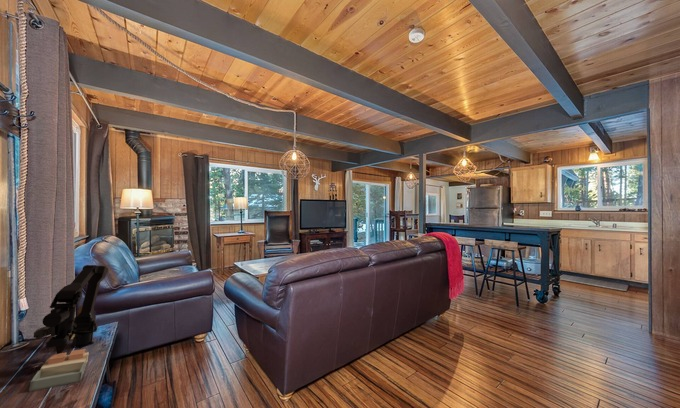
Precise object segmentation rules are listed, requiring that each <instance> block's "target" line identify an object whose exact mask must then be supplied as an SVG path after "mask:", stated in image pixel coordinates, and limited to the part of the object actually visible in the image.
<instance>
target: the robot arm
mask: <svg viewBox="0 0 680 408" xmlns="http://www.w3.org/2000/svg"><path fill="white" fill-rule="evenodd" d="M108 272H109V267H107V265H102V264H101V265H98V264H97V265H96V264H85V265H83V266H82V270H81V271H80V272H79V273H78V274H77V275H76V276H75V278H74V279H73V280H72V281H71V283H69V284H67V285H65V286H63V287H62V288H61V289H59V291H58V292H57V293H56V294H55V295H54V298H53V299H52V302H51V303H50V306H49V309H50V312H49V313H47V314H45V316H44V317H43V318H42V325H43V326H42V327H40V328H38V329H36V330H35V331H34V332H33V338H35V340H40V339H42V338H45V337H47V336H50V337H49V338H48V339H47V340H46V342H45V346H44V348H45V349H47V348H48V349H49V348H55V351H56V354H59V353H64V350H65V349H66V347H67V345H68V344H69V342H70V341H71V340H70V339H71V338H72V336H73V334H75V336H74V337H73V340H72V343H71V344H70V346H71V347H75V348H77V349H81V348H83V347H86V346H89V345H93V344H94V343H95V342H94V341H93V337H94V333H96V332H98V328H99V327H98V326H99V325H98V322H97V321H96V318H97V316H96V314H95V312H94V309H95V306H96V302H97V301H96V300H97V297H98V292H99V288H100V286H101V285H100V284H101V282H102V281H103V280H104V279H105V278H106V276H107V274H108ZM86 285H87V286H86ZM85 286H86V290H85V294H84V299H83V302H82V305H81V306H82V309H81V313H80V314H79V315H78V314H77V316H75V315H76V309H77V305H78V304H79V302H80V301H81V299H82V297H83V289H84V287H85ZM70 333H71V334H70Z"/></svg>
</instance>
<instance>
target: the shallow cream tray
mask: <svg viewBox="0 0 680 408" xmlns="http://www.w3.org/2000/svg"><path fill="white" fill-rule="evenodd" d="M89 354H90V351H88V352H86V351H85V354H84V356H83V358H80V359H74V360H69V355H70V354H66V358H65V360H64V361H63V362H60V363H54V364H48V361H49V358H50V357H48V358H47V359H46V361H45V362H44V363H43V365H42V366H41V368H40V370H41V375H40V378H43V377H49V376H54V375H60V374H65V373H71V372H77V371H80V370H81V367H82V365H83V363H86V365H87V363H88V360H89ZM86 365H85V367H86ZM40 370H39V371H40Z"/></svg>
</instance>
